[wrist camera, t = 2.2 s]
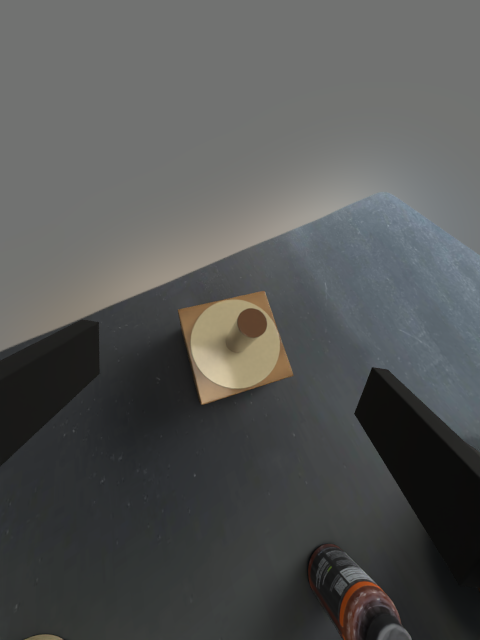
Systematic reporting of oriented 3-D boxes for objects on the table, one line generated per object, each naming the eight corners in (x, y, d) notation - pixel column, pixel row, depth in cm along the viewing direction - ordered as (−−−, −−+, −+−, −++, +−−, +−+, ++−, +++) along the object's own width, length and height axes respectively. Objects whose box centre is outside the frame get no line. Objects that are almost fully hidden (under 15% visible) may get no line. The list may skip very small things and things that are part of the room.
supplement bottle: (345, 605, 31) (425, 716, 20) (301, 592, 30) (359, 698, 20) (352, 548, 33) (429, 621, 22) (311, 535, 32) (369, 603, 22)
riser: (181, 329, 37) (177, 309, 29) (249, 312, 40) (264, 290, 31) (199, 402, 35) (201, 405, 26) (270, 379, 37) (293, 375, 29)
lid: (180, 311, 29) (176, 278, 21) (263, 293, 31) (287, 258, 23) (203, 401, 26) (208, 404, 18) (290, 373, 29) (328, 365, 21)
